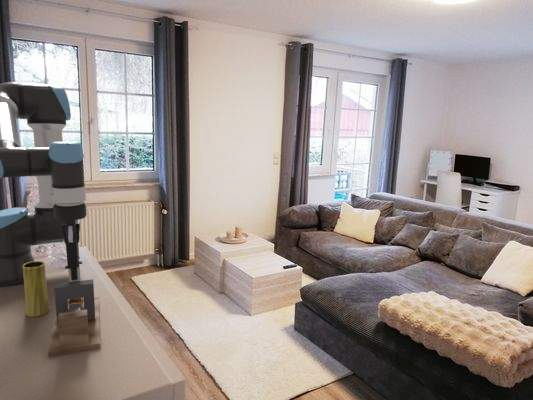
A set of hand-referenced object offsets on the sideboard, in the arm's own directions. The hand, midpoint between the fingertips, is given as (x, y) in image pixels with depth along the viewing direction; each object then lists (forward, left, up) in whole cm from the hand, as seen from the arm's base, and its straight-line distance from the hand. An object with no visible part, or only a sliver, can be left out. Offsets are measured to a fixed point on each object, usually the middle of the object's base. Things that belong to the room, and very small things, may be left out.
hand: (75, 289), depth 106 cm
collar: (+2, 0, -7) cm, 8 cm away
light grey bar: (+1, 0, -4) cm, 5 cm away
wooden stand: (+1, 0, -9) cm, 9 cm away
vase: (-10, -11, -10) cm, 17 cm away
